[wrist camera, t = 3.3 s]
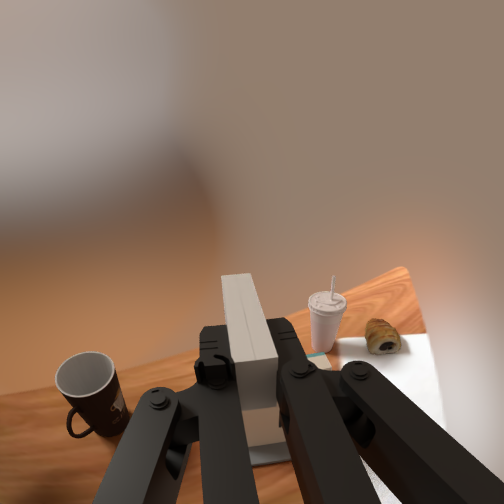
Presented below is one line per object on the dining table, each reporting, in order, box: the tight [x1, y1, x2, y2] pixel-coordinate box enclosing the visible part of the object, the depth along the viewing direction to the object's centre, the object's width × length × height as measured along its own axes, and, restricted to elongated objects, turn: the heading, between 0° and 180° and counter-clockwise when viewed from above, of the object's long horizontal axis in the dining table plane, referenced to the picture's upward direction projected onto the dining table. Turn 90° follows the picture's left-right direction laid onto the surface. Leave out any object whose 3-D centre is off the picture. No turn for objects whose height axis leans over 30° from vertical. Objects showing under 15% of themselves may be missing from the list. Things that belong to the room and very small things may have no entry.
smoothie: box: [308, 276, 347, 353], centre depth 46 cm, size 6×6×14 cm
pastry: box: [365, 319, 401, 355], centre depth 49 cm, size 9×7×4 cm
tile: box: [242, 352, 332, 447], centre depth 29 cm, size 10×2×13 cm, turn 99°
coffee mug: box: [55, 351, 130, 438], centre depth 30 cm, size 12×9×10 cm
